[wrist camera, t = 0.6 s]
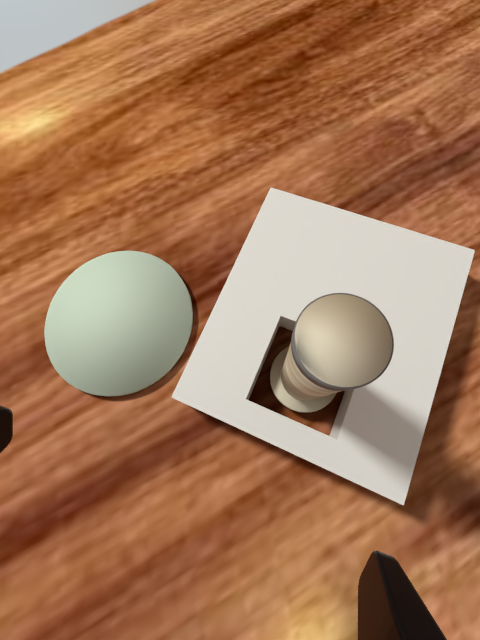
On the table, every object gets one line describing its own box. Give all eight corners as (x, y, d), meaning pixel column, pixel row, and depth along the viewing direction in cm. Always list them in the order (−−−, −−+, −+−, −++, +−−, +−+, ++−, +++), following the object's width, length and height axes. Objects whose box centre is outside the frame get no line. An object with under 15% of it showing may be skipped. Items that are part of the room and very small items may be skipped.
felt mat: (101, 430, 22) (97, 431, 21) (22, 316, 25) (18, 314, 24) (223, 324, 23) (222, 322, 23) (135, 228, 26) (133, 224, 26)
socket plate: (386, 494, 19) (403, 505, 17) (181, 399, 22) (171, 397, 19) (453, 267, 23) (474, 250, 20) (270, 208, 25) (270, 187, 23)
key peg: (323, 423, 21) (391, 436, 9) (260, 395, 22) (251, 375, 10) (345, 361, 22) (432, 302, 10) (284, 336, 22) (301, 257, 11)
